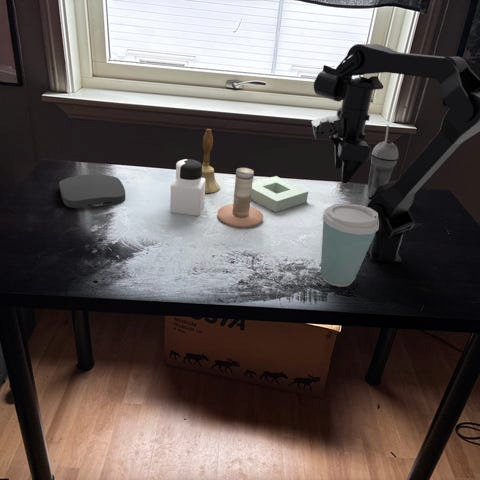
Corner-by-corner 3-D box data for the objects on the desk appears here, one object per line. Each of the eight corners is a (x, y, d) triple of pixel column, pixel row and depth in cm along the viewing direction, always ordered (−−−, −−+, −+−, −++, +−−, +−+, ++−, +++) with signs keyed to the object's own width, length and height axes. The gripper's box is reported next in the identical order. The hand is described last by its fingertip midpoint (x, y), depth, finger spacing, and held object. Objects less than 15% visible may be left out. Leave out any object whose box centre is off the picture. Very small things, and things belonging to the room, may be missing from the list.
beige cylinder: (251, 216, 113) (256, 173, 107) (236, 218, 111) (240, 175, 106) (244, 209, 116) (249, 167, 111) (229, 211, 114) (233, 168, 109)
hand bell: (190, 180, 131) (193, 123, 123) (220, 182, 131) (225, 126, 124) (187, 192, 124) (190, 132, 116) (219, 195, 124) (223, 135, 116)
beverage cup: (390, 201, 131) (410, 130, 121) (364, 199, 131) (382, 128, 121) (384, 191, 137) (402, 123, 128) (359, 188, 137) (375, 120, 127)
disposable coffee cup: (302, 281, 92) (315, 212, 85) (320, 257, 101) (334, 193, 93) (355, 300, 88) (374, 229, 81) (369, 274, 97) (387, 208, 89)
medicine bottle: (204, 204, 118) (207, 158, 112) (199, 216, 112) (201, 169, 106) (176, 200, 119) (177, 155, 113) (169, 212, 112) (170, 165, 107)
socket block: (306, 201, 125) (308, 191, 124) (275, 212, 118) (276, 201, 117) (274, 186, 133) (276, 176, 131) (243, 194, 126) (244, 184, 124)
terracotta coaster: (263, 229, 109) (263, 226, 109) (216, 225, 109) (216, 222, 109) (262, 209, 119) (262, 206, 118) (218, 205, 119) (219, 202, 118)
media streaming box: (58, 186, 120) (56, 175, 119) (115, 181, 126) (115, 171, 125) (65, 211, 109) (64, 199, 107) (129, 204, 115) (128, 193, 113)
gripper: (312, 93, 108) (302, 158, 116) (323, 114, 92) (310, 188, 100) (360, 98, 109) (346, 162, 116) (379, 120, 92) (362, 193, 100)
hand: (340, 175), depth 108 cm, fingers open, 9 cm apart
